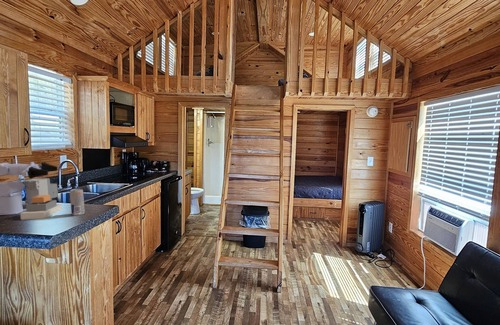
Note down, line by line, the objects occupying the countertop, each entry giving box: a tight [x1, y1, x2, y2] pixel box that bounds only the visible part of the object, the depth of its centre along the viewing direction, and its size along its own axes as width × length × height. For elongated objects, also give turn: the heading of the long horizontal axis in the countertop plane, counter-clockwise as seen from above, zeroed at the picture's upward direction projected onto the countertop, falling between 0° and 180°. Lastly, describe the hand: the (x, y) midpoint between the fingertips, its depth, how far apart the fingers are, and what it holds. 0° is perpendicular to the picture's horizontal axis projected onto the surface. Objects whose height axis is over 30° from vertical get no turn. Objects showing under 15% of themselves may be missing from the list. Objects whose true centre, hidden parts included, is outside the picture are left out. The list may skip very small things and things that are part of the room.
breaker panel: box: [19, 199, 63, 221], centre depth 127 cm, size 10×14×6 cm
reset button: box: [32, 195, 50, 203], centre depth 126 cm, size 5×5×2 cm
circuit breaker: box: [22, 177, 59, 207], centre depth 143 cm, size 8×14×15 cm, turn 174°
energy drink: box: [69, 188, 86, 217], centre depth 127 cm, size 5×5×12 cm
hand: (52, 170), depth 131 cm, fingers open, 7 cm apart
